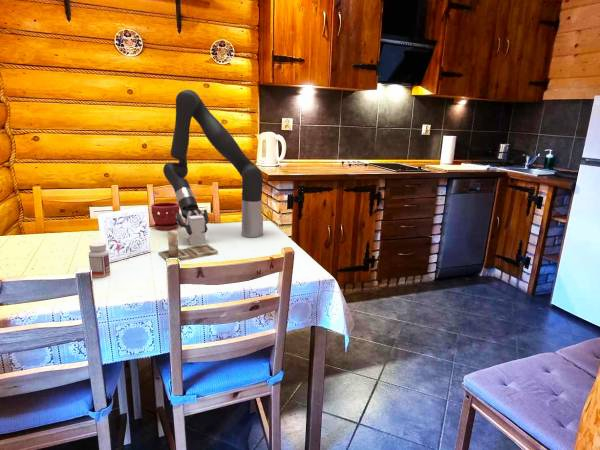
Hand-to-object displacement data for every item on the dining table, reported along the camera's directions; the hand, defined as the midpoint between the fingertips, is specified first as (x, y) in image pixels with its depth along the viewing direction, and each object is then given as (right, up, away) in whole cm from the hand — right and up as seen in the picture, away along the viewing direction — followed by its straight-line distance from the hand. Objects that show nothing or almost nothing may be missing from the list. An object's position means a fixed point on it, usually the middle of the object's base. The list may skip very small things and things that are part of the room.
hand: (198, 232), depth 174 cm
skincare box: (-1, -5, +3) cm, 6 cm away
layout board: (-1, -9, -10) cm, 14 cm away
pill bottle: (-26, -14, -31) cm, 43 cm away
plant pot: (-23, +2, +29) cm, 37 cm away
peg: (-6, -9, -14) cm, 18 cm away
